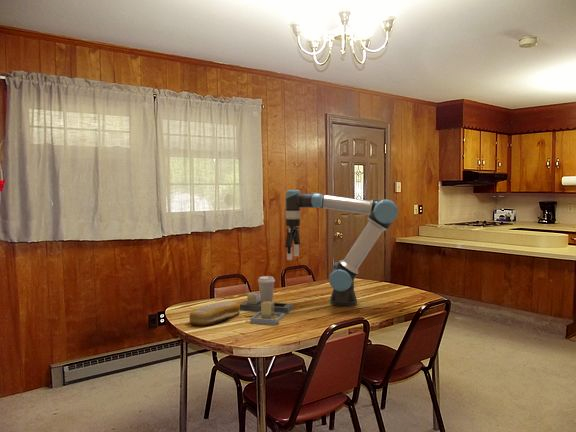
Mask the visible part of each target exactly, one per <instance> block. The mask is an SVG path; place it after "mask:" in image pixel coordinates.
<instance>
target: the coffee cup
mask: <svg viewBox="0 0 576 432" xmlns="http://www.w3.org/2000/svg"><path fill="white" fill-rule="evenodd" d="M257 282H258V287H259V288H258V290H259V293H260V302H264V301H272V302H274V299H273V298H274V286H275V282H276V279H275V278H274V276H270V275H264V276H259V277H258V280H257Z"/></svg>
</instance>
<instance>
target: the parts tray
mask: <svg viewBox="0 0 576 432" xmlns="http://www.w3.org/2000/svg"><path fill="white" fill-rule="evenodd" d="M285 315H286V314H285V313H277V312H274V317H277V318H276V319H274V318H273V319H261V318H260V317H259V316H261V311H259V312H257V313H256V314H254V315H253V316H252V317H250V324H254V325H255V324H256V325H270V326H278V325H279V324H280V321H281V320H282V319H283V318H284V317H285Z"/></svg>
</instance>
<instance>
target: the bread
mask: <svg viewBox="0 0 576 432" xmlns="http://www.w3.org/2000/svg"><path fill="white" fill-rule="evenodd" d="M240 312H241V310H240V304H239V303H238V302H234V301H220V302H215V303H211V304H207V305H204V306H202V307H201V306H200V307H199V308H197V309H195V310H193V311H191V312H190V313H189V323H190V324H192V325H194V326H197V327H205V326H211V325H214V324H216V323H220V322H226V321H229V320H230V319H232V318H236V317H238V316H239V315H240V314H241V313H240Z"/></svg>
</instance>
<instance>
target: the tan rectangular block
mask: <svg viewBox="0 0 576 432" xmlns="http://www.w3.org/2000/svg"><path fill="white" fill-rule="evenodd" d="M274 302H275V301H273V302H272V301H264V302H262V303H261V315H260V316H261V318H260V319H273V320H274V319H275V316H274Z"/></svg>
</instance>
